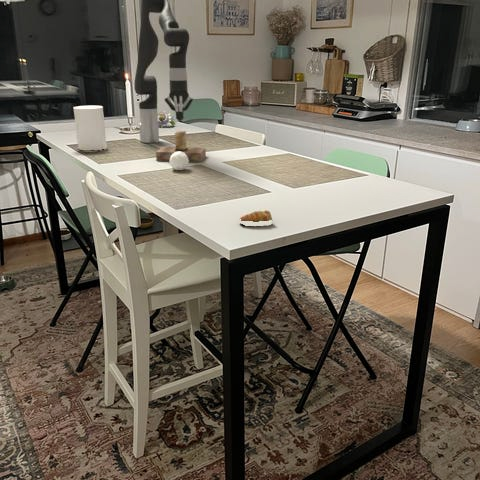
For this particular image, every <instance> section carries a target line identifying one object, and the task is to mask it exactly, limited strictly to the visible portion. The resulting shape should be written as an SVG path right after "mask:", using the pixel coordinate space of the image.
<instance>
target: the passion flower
mask: <svg viewBox="0 0 480 480" xmlns="http://www.w3.org/2000/svg"><path fill="white" fill-rule="evenodd" d="M171 114H172V113H171V112H169V113H166V111H165V110H163V111H161V112H158V127H160V128H161V129H163V128H164V126H168V123H170V124H171V126H172V127H173V128H174V127H175V125H176V122H175V121H174V120H175V118H174V117H173V116H170V115H171Z"/></svg>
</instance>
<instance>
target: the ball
mask: <svg viewBox="0 0 480 480" xmlns="http://www.w3.org/2000/svg"><path fill="white" fill-rule="evenodd" d="M169 163H170V167H171V168H172V169H173V170H175V171H178V170H180V171H183V170H186V168H187V167H188V165H189V163H190V162H189V160H188V157H187V155H186V154H185V153H184V152H180V151H178V152H175V153H173V154H172V155H171V157H170V161H169Z"/></svg>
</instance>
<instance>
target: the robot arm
mask: <svg viewBox="0 0 480 480" xmlns="http://www.w3.org/2000/svg"><path fill="white" fill-rule="evenodd" d="M150 13H154V14H159V16H158V24H159V26H160V28H161V31H162V33H163V42H164V44H165V45H166V46H168V47H171V48H172V47H173V48H174V47H179V49H178V51H176V52H171V53H169V55H168V64H169V71H168V72H169V73H168V75H169V93H168V96H167V97H166V98H164V102H165V104H167V105H168V107H169V108H170V110H171V111H174V112H175V120H177V121H179V122H180V121H183V120H184V112H185V111H188V110H189V107H191V105H192V104H193V102H194V101H195V100H194V98H192V97H191V96H190V93H188V90H189V89H188V72H187V53H188V47H189V43H190V33H189V32H188V30H187V29H186V28H180V25H179V23H178V21H177V20H176V18H175V17H174V15H173V13H172V8H171V5H170V2H169V0H141V1H140V28H139V37H138V38H139V39H138V48H137V64H136V69H135V76H134V84H133V85H134V92H135V94H136V95H138V96H139V95H140V96H145V95H148V97H147V98H145V100H143V101H140V102H139V103H138V107H139V109H138V110H139V121H140V123H139V124H138V125H139V126H138V127H139V129H138V130H139V140H140V143H145V144H148V143H149V144H151V143H152V144H154V143H159V142H160V133H159V126H158V113H159V112H158V81H157V79H156V77H155V76H154V75H146V71H147V70H148V68H149V67H150V66H151V64H152V63H153V62H154V61H155V59H156V58H157V55H158V51H159V37H158V35H157V33H156V31H155V30H154V27H153V25H152V22H151V20H150ZM171 101H172V102H173V103H174V104H173V103H172V102H171ZM186 102H187V103H186ZM185 103H186V105H185Z"/></svg>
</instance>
